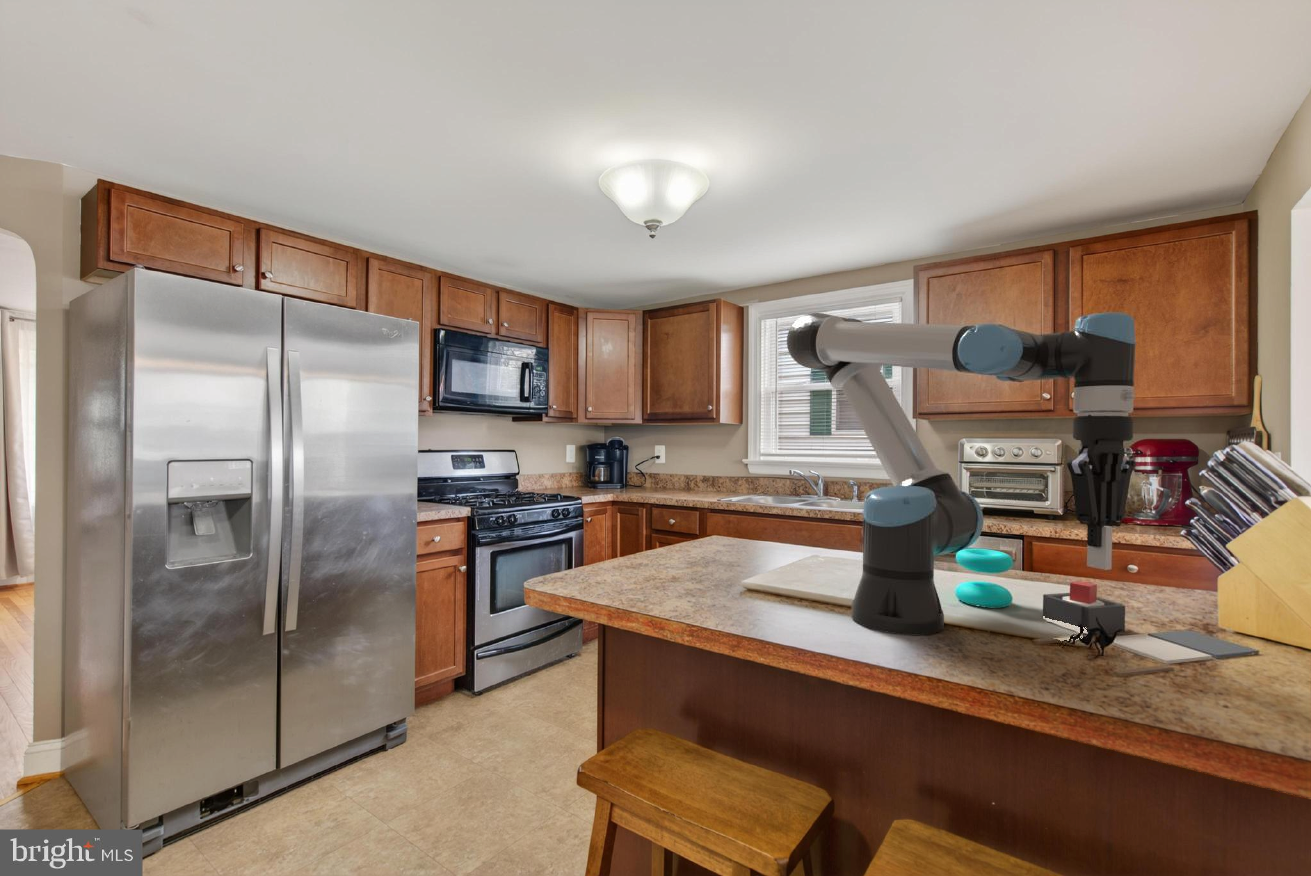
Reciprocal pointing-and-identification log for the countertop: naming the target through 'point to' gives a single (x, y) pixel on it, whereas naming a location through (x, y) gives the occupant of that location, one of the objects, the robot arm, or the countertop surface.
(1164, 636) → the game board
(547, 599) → the countertop surface
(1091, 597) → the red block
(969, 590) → the donuts
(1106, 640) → the creature
